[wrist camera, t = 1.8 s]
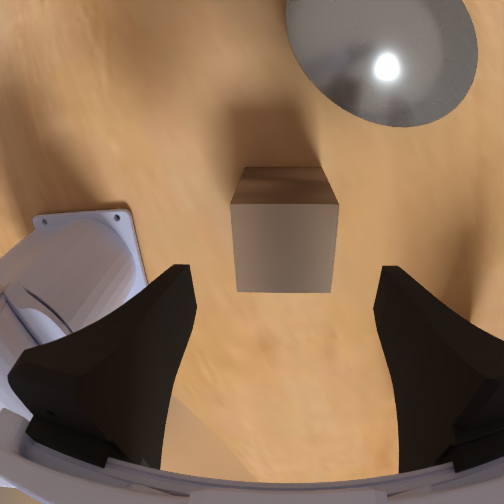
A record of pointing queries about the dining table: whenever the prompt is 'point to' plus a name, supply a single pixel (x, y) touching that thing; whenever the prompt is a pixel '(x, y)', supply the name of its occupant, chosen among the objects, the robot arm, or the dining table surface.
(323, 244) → the walnut block
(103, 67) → the dining table surface
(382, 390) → the dining table surface
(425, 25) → the biscuit tin
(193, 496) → the robot arm
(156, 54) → the dining table surface
